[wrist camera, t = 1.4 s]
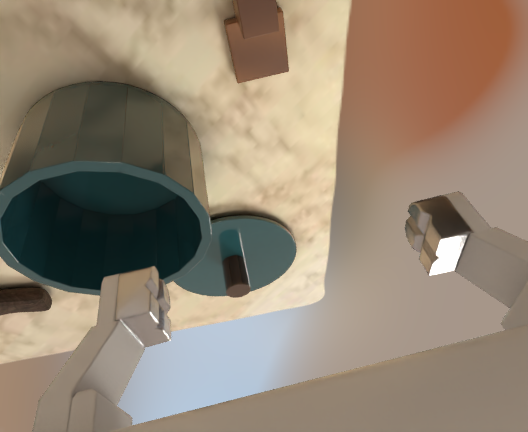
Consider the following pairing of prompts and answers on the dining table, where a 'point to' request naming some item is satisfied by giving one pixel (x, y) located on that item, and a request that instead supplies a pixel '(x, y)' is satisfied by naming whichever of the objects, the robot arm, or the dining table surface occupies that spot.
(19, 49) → the dining table surface
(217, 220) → the lid
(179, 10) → the dining table surface
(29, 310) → the cleaver
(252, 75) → the brown stepped bar
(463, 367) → the robot arm
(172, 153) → the pot
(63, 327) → the dining table surface
